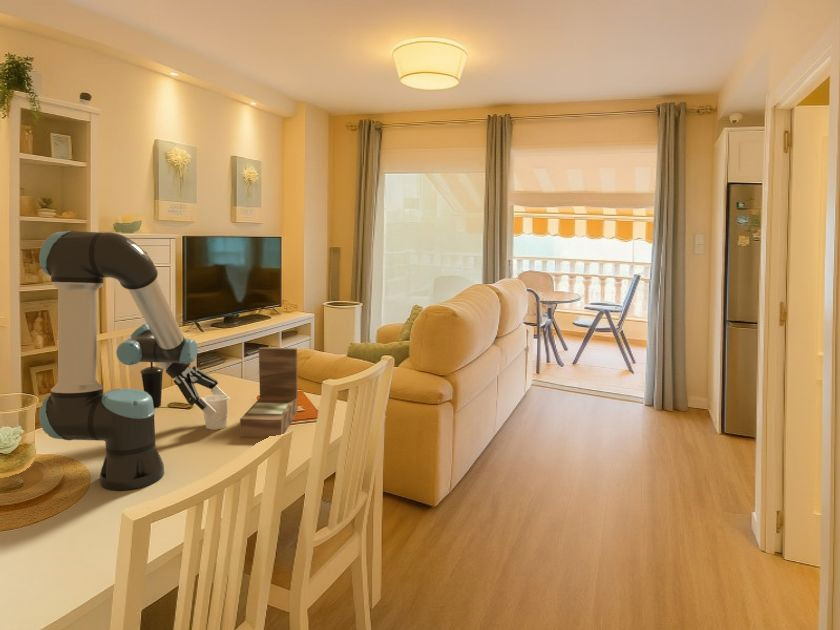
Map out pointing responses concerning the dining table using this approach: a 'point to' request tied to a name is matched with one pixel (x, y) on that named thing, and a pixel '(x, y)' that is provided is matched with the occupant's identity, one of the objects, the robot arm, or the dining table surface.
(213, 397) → the white cup
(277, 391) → the walnut shelf
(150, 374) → the drinking cup
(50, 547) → the dining table surface
